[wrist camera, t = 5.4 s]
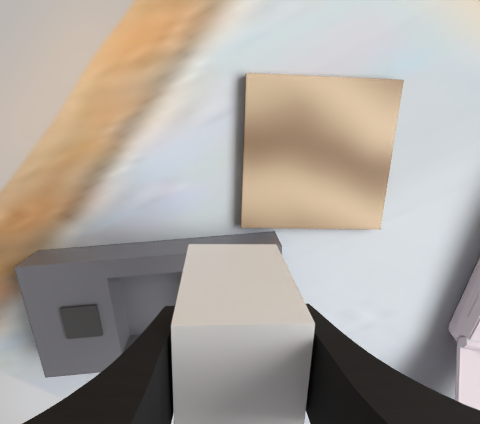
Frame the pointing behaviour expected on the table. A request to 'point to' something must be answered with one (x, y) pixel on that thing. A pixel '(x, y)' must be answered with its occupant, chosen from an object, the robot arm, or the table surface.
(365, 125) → the cork coaster
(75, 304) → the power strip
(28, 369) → the table surface
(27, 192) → the table surface
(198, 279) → the white rectangular block
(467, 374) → the mobile phone
